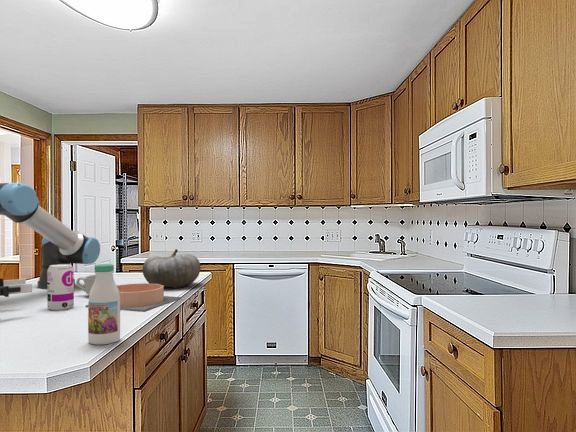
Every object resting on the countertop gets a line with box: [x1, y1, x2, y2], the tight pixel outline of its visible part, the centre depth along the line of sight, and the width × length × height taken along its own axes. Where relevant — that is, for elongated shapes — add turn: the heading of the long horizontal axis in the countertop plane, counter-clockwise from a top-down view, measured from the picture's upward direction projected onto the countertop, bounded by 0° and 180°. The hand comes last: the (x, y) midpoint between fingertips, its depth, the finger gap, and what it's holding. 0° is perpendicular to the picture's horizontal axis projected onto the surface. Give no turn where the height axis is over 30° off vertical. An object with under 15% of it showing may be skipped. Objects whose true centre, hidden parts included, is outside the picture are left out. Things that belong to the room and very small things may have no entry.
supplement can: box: [46, 263, 75, 311], centre depth 158 cm, size 8×8×15 cm
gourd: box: [142, 248, 202, 289], centre depth 204 cm, size 25×25×17 cm
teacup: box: [75, 274, 96, 296], centre depth 182 cm, size 14×11×8 cm
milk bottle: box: [87, 263, 121, 346], centre depth 118 cm, size 8×8×20 cm
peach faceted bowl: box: [85, 282, 182, 313], centre depth 168 cm, size 24×24×6 cm
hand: (28, 285), depth 152 cm, fingers open, 13 cm apart
